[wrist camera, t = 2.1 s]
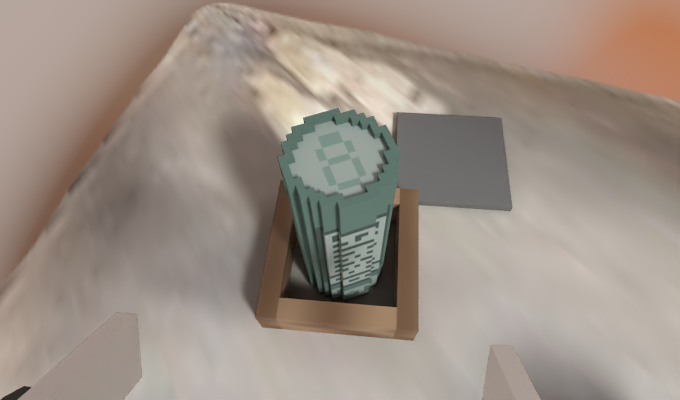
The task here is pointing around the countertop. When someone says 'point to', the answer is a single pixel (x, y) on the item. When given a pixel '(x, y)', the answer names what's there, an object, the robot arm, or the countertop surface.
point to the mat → (453, 160)
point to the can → (341, 198)
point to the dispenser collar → (334, 315)
